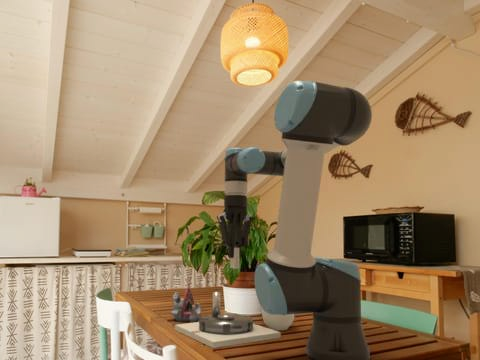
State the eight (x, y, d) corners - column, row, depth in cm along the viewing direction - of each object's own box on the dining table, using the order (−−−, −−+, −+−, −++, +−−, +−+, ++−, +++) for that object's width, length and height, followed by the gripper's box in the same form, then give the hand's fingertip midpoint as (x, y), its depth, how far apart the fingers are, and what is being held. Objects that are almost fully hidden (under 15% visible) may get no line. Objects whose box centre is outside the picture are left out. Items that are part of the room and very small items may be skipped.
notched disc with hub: (264, 329, 120) (264, 296, 121) (214, 336, 111) (215, 300, 112) (235, 319, 133) (235, 289, 134) (188, 325, 124) (189, 293, 125)
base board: (280, 337, 118) (280, 331, 118) (213, 348, 106) (213, 341, 106) (235, 322, 138) (235, 317, 138) (174, 329, 126) (174, 324, 126)
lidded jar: (297, 326, 133) (297, 296, 135) (292, 333, 123) (292, 301, 125) (265, 323, 136) (265, 294, 138) (257, 330, 126) (257, 299, 127)
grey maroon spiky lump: (201, 316, 135) (180, 285, 138) (175, 336, 136) (155, 305, 139) (211, 310, 146) (192, 282, 149) (187, 328, 147) (169, 300, 150)
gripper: (246, 197, 143) (245, 266, 139) (212, 194, 135) (210, 267, 132) (258, 195, 136) (258, 268, 133) (224, 193, 129) (222, 269, 126)
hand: (234, 268), depth 133 cm, fingers closed
